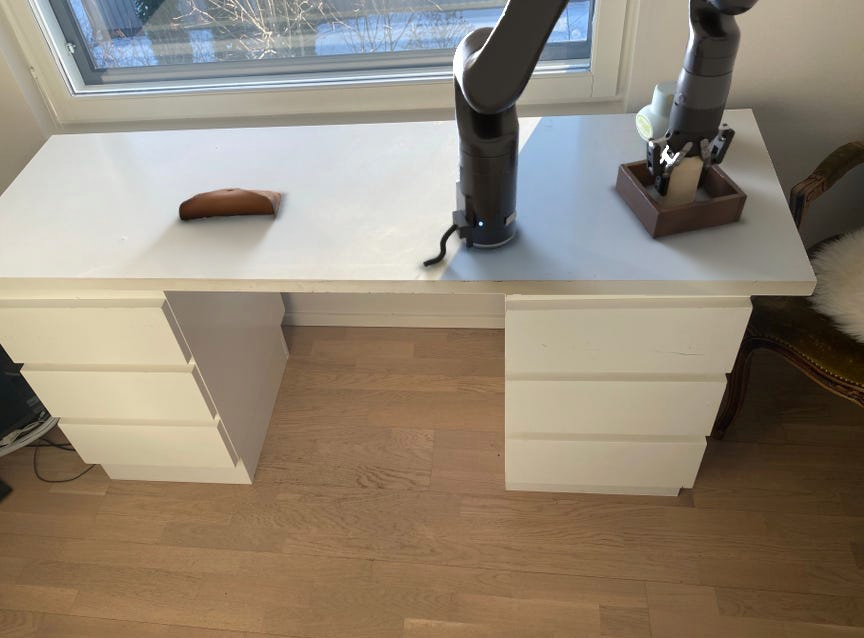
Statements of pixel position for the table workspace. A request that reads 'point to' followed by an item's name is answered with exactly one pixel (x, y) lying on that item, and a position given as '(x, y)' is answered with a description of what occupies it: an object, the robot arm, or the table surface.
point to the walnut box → (682, 217)
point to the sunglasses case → (230, 204)
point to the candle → (682, 182)
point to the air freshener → (657, 112)
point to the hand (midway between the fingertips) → (678, 189)
